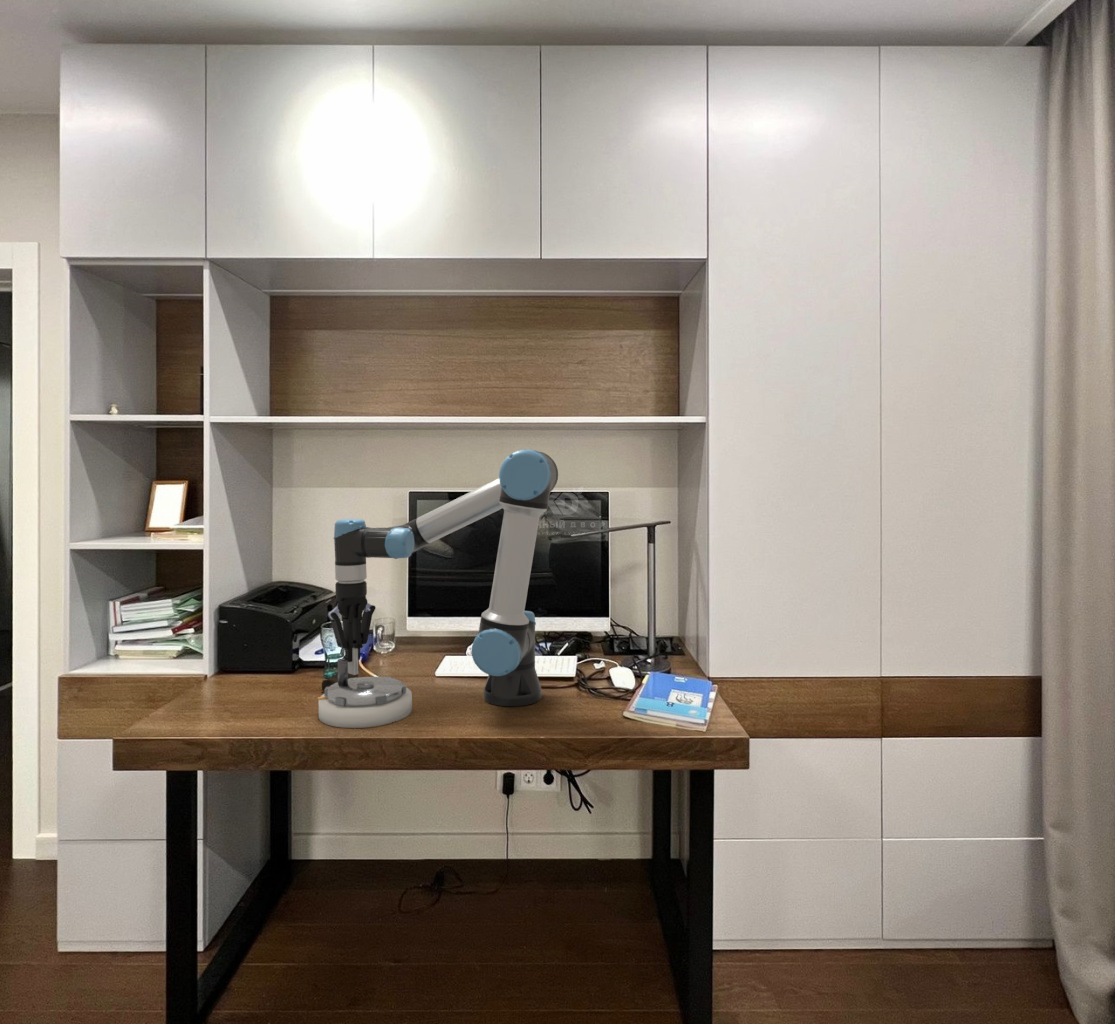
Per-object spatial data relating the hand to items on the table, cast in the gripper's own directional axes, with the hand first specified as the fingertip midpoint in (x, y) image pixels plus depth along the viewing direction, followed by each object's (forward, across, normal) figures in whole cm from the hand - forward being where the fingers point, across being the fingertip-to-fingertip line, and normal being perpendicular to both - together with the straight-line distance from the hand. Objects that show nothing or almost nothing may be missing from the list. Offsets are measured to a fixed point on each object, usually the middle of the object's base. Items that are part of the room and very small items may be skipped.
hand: (353, 673), depth 178 cm
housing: (+8, +1, +7) cm, 11 cm away
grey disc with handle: (+4, +1, +7) cm, 8 cm away
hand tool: (+9, -9, -20) cm, 23 cm away
